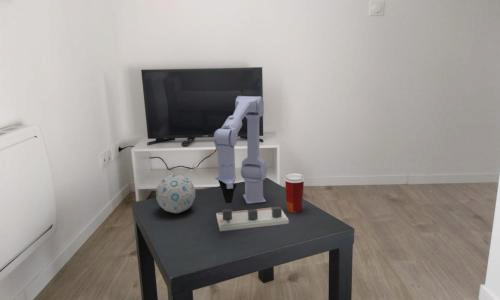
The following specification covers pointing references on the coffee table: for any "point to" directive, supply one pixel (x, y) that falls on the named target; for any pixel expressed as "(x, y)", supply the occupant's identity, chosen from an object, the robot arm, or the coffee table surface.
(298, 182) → the paper cup
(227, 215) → the block
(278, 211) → the block
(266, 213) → the breaker panel
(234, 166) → the robot arm
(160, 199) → the puzzle ball
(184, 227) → the coffee table surface
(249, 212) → the breaker
